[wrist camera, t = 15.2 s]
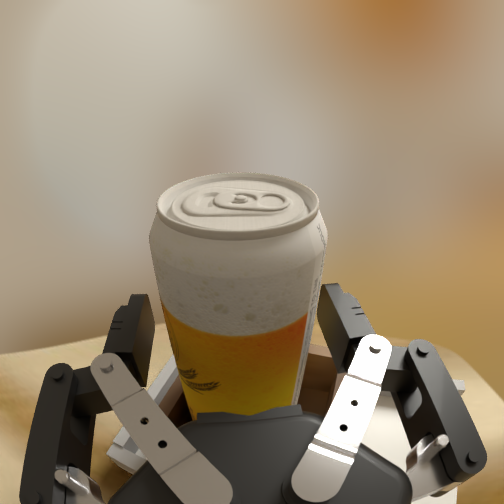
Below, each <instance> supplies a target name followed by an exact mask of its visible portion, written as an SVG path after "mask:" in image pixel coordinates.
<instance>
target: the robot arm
mask: <svg viewBox="0 0 504 504" xmlns="http://www.w3.org/2000/svg"><path fill="white" fill-rule="evenodd" d="M317 318H318V322H319V325H320V327H321V330H322V333H323V335H324V338H325V340H326V343H327V346H328V348H329V351H330V353H331V356H332V359H333V361H334V364H335V367H336V369H337V372H338V374H340V373H346V375H345V378H344V380H343V382H342V384H341V386H340V388H339V390H338V392H337V395H336V397H335V399H334V401H333V403H332V405H331V407H330V409H329V411H328V413H327V415H326V417H323V416H321V415H318V414H315V413H312V412H307V411H302V409H301V405H300V404H298V405H290V406H283V407H275V408H272V409H269V410H266V411H263V412H260V413H257V414H254V415H241V414H234V413H227V412H204V413H197V420H194V421H191V422H188V423H186V424H184V425H182V426H180V427H179V428H176V427H175V426H174V424H173V423H172V422H171V421H170V420H169V418H168V417H167V416H166V415H165V414H164V412H163V411H162V410H161V409H160V408H159V406H158V405H157V404H156V403H155V401H154V400H153V399H152V397H151V396H150V395H149V394H148V392H147V391H146V390H145V389H144V388H143V389H142V388H141V387H146V385H147V378H148V371H149V364H150V357H151V351H152V344H153V338H154V332H155V322H154V317H153V313H152V309H151V305H150V301H149V297H148V295H147V294H132V295H131V296H130V299H129V303H128V305H127V306H121V307H120V308H119V309H118V310H117V311H116V312H115V315H114V317H113V320H112V323H111V327H110V330H109V333H108V336H107V340H106V343H105V346H104V350H103V353H102V354H101V355H99V356H97V357H96V358H95V359H94V360H93V361H92V363H91V366H88V367H85V368H80V369H76V370H73V369H72V368H71V367H70V366H69V365H68V364H65V363H58V364H55V365H53V366H51V367H50V368H49V369H48V370H47V372H46V374H45V377H44V381H43V384H42V387H41V391H40V394H39V398H38V402H37V405H36V409H35V413H34V417H33V421H32V425H31V430H30V434H29V439H28V444H27V449H26V454H25V460H24V465H23V472H22V478H21V486H20V494H19V498H20V503H21V504H105V503H104V501H103V499H102V497H101V490H100V487H99V485H98V484H97V483H96V482H95V481H94V480H93V479H92V478H90V466H91V455H92V445H93V436H94V427H95V419H96V414H99V413H103V412H108V411H112V410H113V411H114V412H115V414H116V415H117V417H118V418H119V420H120V421H121V423H122V424H123V426H124V427H125V429H126V430H127V432H128V433H129V435H130V436H131V438H132V439H133V441H134V442H135V443H136V445H137V446H138V448H139V449H140V450H141V452H142V453H143V454H144V456H145V457H146V458H147V460H146V462H145V463H144V464H143V465H142V466H141V467H140V468H139V469H138V470H137V471H136V472H135V473H134V474H133V475H132V476H131V477H130V478H129V479H128V481H127V482H126V483H125V484H124V485H123V486H122V487H121V488H120V489H119V490H118V491H117V492H116V493H115V494H114V495H113V496H112V497H111V498H110V500H109V502H108V504H411V502H414V501H416V500H419V499H422V498H424V497H427V496H431V497H440V496H443V495H444V494H446V493H448V492H449V491H451V490H452V489H454V488H456V487H457V486H459V485H460V484H462V483H463V482H465V481H466V480H468V479H469V478H471V477H472V476H474V475H475V474H477V473H478V472H480V471H481V470H482V469H483V468H484V466H485V464H486V461H487V453H486V450H485V448H484V445H483V443H482V441H481V438H480V436H479V434H478V432H477V429H476V427H475V425H474V423H473V421H472V419H471V416H470V414H469V412H468V410H467V408H466V406H465V404H464V402H463V400H462V398H461V396H460V394H459V392H458V390H457V388H456V386H455V384H454V382H453V380H452V378H451V376H450V375H449V373H448V371H447V369H446V367H445V365H444V363H443V362H442V360H441V358H440V356H439V354H438V353H437V351H436V349H435V347H434V346H433V345H432V344H431V343H430V342H428V341H426V340H422V339H416V340H413V341H411V342H410V344H409V346H408V347H398V346H391V345H390V343H389V342H388V341H387V340H386V339H385V338H383V337H381V336H378V335H376V333H375V332H374V330H373V328H372V326H371V324H370V322H369V320H368V319H367V317H366V315H365V314H364V311H363V310H362V308H361V306H360V304H359V303H358V301H357V299H356V298H355V297H353V296H352V295H351V294H350V293H343V291H342V289H341V287H340V286H339V284H338V283H334V284H323V285H322V286H321V290H320V296H319V302H318V308H317ZM380 391H389V392H390V393H391V395H392V398H393V400H394V403H395V406H396V408H397V411H398V414H399V416H400V419H401V422H402V425H403V427H404V430H405V433H406V436H407V439H408V442H409V445H410V447H411V450H410V451H409V453H408V454H407V457H406V473H405V472H404V471H403V470H402V469H401V468H399V467H398V466H396V465H395V464H393V463H392V462H390V461H389V460H387V459H385V458H384V457H382V456H381V455H379V454H378V453H376V452H375V451H373V450H372V449H370V448H369V447H367V446H366V445H364V444H363V443H361V440H362V437H363V435H364V433H365V430H366V428H367V425H368V423H369V420H370V417H371V415H372V412H373V409H374V407H375V404H376V401H377V398H378V395H379V393H380Z"/></svg>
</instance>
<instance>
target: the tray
mask: <svg viewBox="0 0 504 504" xmlns="http://www.w3.org/2000/svg"><path fill="white" fill-rule="evenodd" d="M178 375H179V373H178V369H177V366H176V362H175V358H174V354H173V355H172V356H171V358H170V359H169V361H168V362H167V364H166V365H165V366H164V368H163V369H162V371H161V372H160V374H159V375H158V377H157V378H156V379H155V381H154V382H153V384H152V385H151V387H150V388H149V389H148V391H147V392H148V394H149V395H150V396H151V397H152V399H153V400H154V401H155V403H156V404H157V405H159V404H160V402H161V401H162V399H163V398H164V396H165V395H166V393H167V392H168V390H169V388H170V387H171V385H172V384H173V382H174V381H175V379H176V378H177V376H178ZM452 380H453V379H452ZM453 382H454V384H455V386H456V388H457V390H458V392H459V394H460V396H461V395H462V394H463V393H464V391H465V384H464V380H453ZM113 442H114V443H113V444H112V446H111V447H110V449H109V450H108V452H107V453H106V454H107V455H108V456H109V457H110V458H111V459H112V460H113V461H114V462H115V463H116V464H117V465H118V466H119V467H120V468H122V469H124V470H126V471H127V472H129V473H131V474H134V473H135V472H136V471H137V470H138V469H139V468H140V467H141V466H142V465H143V464H144V463H145V462H146V460H147V458H146V457H145V456H144V454H143V453H142V452H141V450H140V449H139V448H138V446H137V445H136V443H135V442H134V441H133V439H132V438H131V436H130V435H129V433H128V432H127V430H126V429H125V427H124V426H123V427H122V428H121V430H120V431H119V433H118V434H117V436H116V437H115V439H114V440H113ZM361 443H363V444H364V445H366V446H367V447H369V448H370V449H372V450H373V451H375V452H376V453H378V454H379V455H381V456H382V457H384V458H385V459H387V460H389V461H390V462H392V463H393V464H395V465H396V466H398V467H399V468H401V469H402V470H403V471H404V472H405V473H406V457H407V454H408V453H409V451H410V450H411V447H410V445H409V442H408V439H407V436H406V433H405V430H404V427H403V425H402V422H401V419H400V416H399V414H398V411H397V408H396V406H395V403H394V400H393V398H392V395H391V393H390V392H389V391H380V393H379V395H378V398H377V401H376V404H375V407H374V409H373V412H372V415H371V417H370V420H369V423H368V425H367V428H366V430H365V433H364V435H363V437H362V440H361ZM456 499H457V487H456V488H454V489H452V490H451V491H449V492H448V493H446V494H444V495H443V496H440V497H431V496H427V497H424V498H422V499H419V500H416V501H414V502H411V504H456Z"/></svg>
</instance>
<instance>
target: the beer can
mask: <svg viewBox="0 0 504 504" xmlns="http://www.w3.org/2000/svg"><path fill="white" fill-rule="evenodd" d="M327 237H328V236H327V229H326V227H325V224H324V221H323V219H322V216H321V213H320V211H319V200H318V197H317V195H316V194H315V193H314V192H313V191H312V190H311V189H310V188H308V187H307V186H305V185H303V184H301V183H299V182H296V181H294V180H290V179H287V178H283V177H279V176H274V175H268V174H260V173H221V174H213V175H206V176H202V177H197V178H193V179H190V180H187V181H184V182H181V183H179V184H176V185H174V186H172V187H170V188H169V189H167V190H166V191H165V192H163V193H162V194H161V196H160V197H159V198H158V201H157V213H156V216H155V219H154V222H153V225H152V228H151V231H150V235H149V243H150V249H151V254H152V260H153V265H154V270H155V275H156V280H157V285H158V290H159V295H160V300H161V304H162V309H163V313H164V318H165V322H166V326H167V330H168V334H169V339H170V343H171V347H172V350H173V354H174V358H175V362H176V366H177V369H178V373H179V376H180V380H181V384H182V387H183V390H184V394H185V397H186V401H187V404H188V407H189V410H190V414H191V417H192V420H193V421H194V420H197V413H204V412H227V413H234V414H241V415H254V414H257V413H260V412H263V411H266V410H269V409H272V408H275V407H283V406H290V405H297V402H298V397H299V393H300V389H301V384H302V380H303V375H304V370H305V366H306V361H307V356H308V351H309V346H310V341H311V336H312V330H313V325H314V320H315V314H316V308H317V302H318V297H319V291H320V285H321V278H322V272H323V265H324V258H325V252H326V245H327Z"/></svg>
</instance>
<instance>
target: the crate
mask: <svg viewBox="0 0 504 504" xmlns="http://www.w3.org/2000/svg"><path fill="white" fill-rule="evenodd" d="M345 375H346V373H340V374H338V372H337V369H336V367H335V364H334V361H333V359H332V356H331V353H330V351H329V348H328V347H324V346H319V345H314V344H310V346H309V351H308V356H307V361H306V366H305V370H304V375H303V380H302V384H301V389H300V393H299V397H298V402H297V405H298V404H300V405H301V409H302V411H307V412H312V413H315V414H318V415H321V416H323V417H326V415H327V413H328V411H329V409H330V407H331V405H332V403H333V401H334V399H335V397H336V395H337V392H338V390H339V388H340V386H341V384H342V382H343V380H344V378H345ZM158 406H159V408H160V409H161V410H162V411H163V412H164V414H165V415H166V416H167V417H168V418H169V420H170V421H171V422H172V423H173V424H174V426H175V427H176V428H179V427H180V426H182V425H184V424H186V423H188V422H191V421H193V420H192V417H191V414H190V410H189V407H188V404H187V401H186V397H185V394H184V390H183V387H182V384H181V380H180V376H179V375H178V376H177V378H176V379H175V381H174V382H173V384H172V385H171V387H170V388H169V390H168V392H167V393H166V395H165V396H164V398H163V399H162V401H161V402H160V404H159V405H158Z"/></svg>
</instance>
